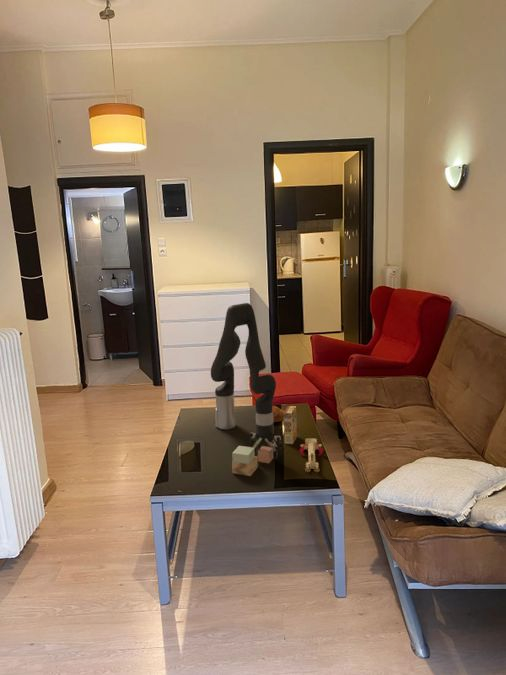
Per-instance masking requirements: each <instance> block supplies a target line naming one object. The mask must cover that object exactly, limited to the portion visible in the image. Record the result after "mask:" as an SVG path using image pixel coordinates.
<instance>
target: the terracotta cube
mask: <svg viewBox="0 0 506 675" xmlns="http://www.w3.org/2000/svg"><path fill="white" fill-rule="evenodd" d="M273 451H274V450H273V449H272V448H271V447H270V446H264V445H261V446H260V448H258V455H257V457H258V462H259V463H264V464H265V463H266V464H270V463H271V462H272V461H273V460H274V459H273Z"/></svg>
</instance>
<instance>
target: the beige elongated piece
mask: <svg viewBox="0 0 506 675" xmlns="http://www.w3.org/2000/svg"><path fill="white" fill-rule="evenodd" d="M317 440H318V439H317V438H312V437H311V438H307V437H306V438H305V439H304V443H302V444H300V449H299V453H300V455H303V456H304V457H305V456H306V455H305V453H304V451H305V450H306V451H307V452H308V456H307V457H308V461H307V462H306V463H305V468H304V471H305V472H306V473H310V472H311V470H313V472H315V473H319V472H320V467H319V462H317V461H316V450H318V452H319V453H318V455H317V457H320V456H321V455H322V454H323V453H324V449H323V448H322V447H323V445H322V444H321V443H318V441H317Z"/></svg>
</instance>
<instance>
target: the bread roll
mask: <svg viewBox="0 0 506 675" xmlns="http://www.w3.org/2000/svg"><path fill="white" fill-rule="evenodd" d="M272 411H273V419H274V421H273V423H278V422H283V421H284V411H285V410H283V409H280V408H279V407H278V406H276V405H272Z"/></svg>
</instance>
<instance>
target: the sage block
mask: <svg viewBox="0 0 506 675" xmlns="http://www.w3.org/2000/svg"><path fill="white" fill-rule="evenodd" d="M231 456H232V462H236V463H243V464H249V463H250V462H251V461H252V460H253V458H254V457H255V449H254V448H253V447H252V446H244V445H237V447H236V449H234V451H233V452H232V454H231Z"/></svg>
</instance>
